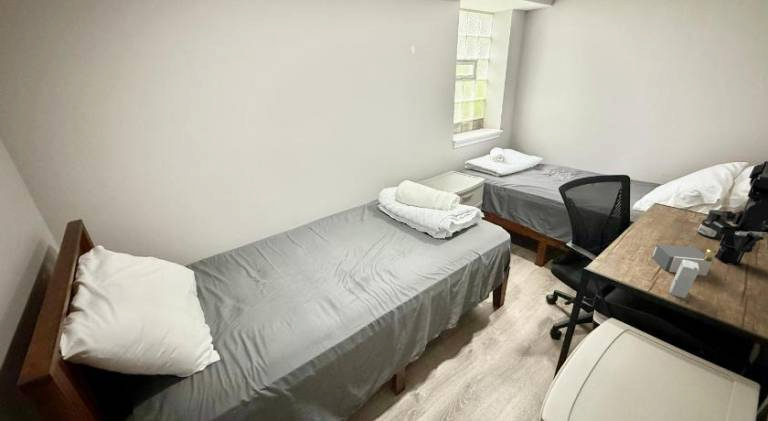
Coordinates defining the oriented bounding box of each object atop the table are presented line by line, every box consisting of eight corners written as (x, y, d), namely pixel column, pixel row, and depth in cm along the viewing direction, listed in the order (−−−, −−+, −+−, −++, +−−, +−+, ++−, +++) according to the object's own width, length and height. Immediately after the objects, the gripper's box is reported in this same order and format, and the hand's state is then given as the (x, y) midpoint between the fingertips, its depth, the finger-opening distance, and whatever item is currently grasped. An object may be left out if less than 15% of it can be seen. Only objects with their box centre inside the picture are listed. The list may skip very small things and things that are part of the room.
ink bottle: (691, 230, 155) (700, 208, 151) (710, 230, 155) (720, 208, 150) (708, 239, 147) (718, 216, 142) (728, 240, 146) (739, 217, 141)
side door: (703, 273, 122) (714, 249, 117) (707, 276, 120) (718, 252, 115) (667, 269, 125) (676, 246, 120) (670, 273, 122) (680, 249, 118)
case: (690, 261, 130) (696, 247, 128) (706, 274, 121) (713, 260, 119) (651, 257, 133) (656, 244, 131) (664, 270, 124) (670, 256, 122)
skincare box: (669, 286, 115) (681, 258, 111) (686, 290, 113) (698, 262, 108) (669, 294, 111) (681, 265, 106) (686, 299, 108) (699, 270, 104)
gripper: (770, 205, 113) (751, 242, 120) (708, 201, 118) (693, 238, 124) (798, 217, 104) (776, 257, 110) (730, 213, 108) (712, 252, 114)
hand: (737, 250), depth 115 cm, fingers closed
